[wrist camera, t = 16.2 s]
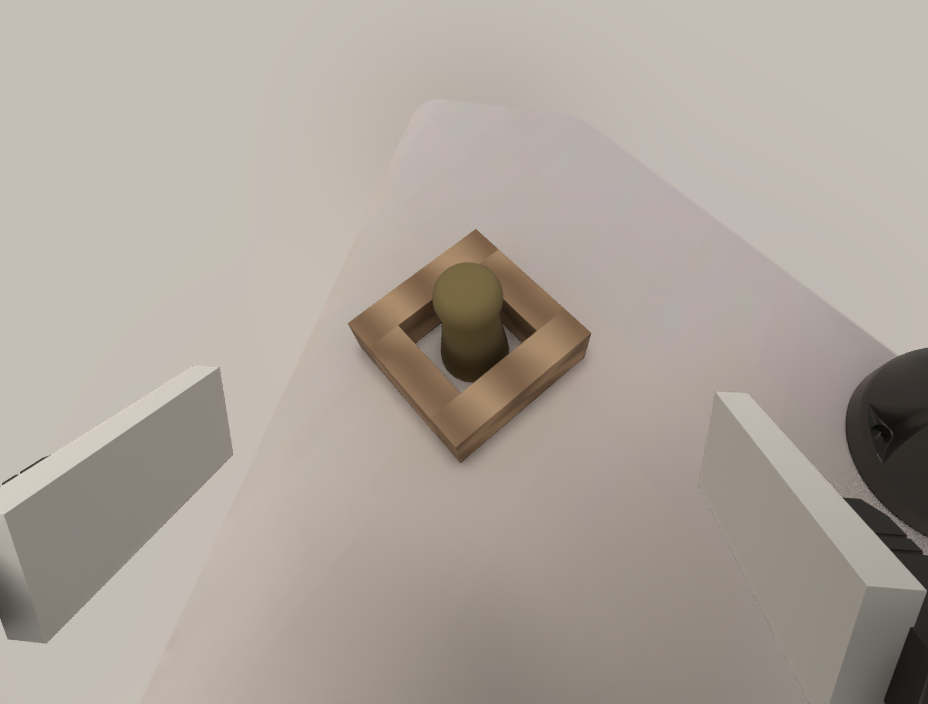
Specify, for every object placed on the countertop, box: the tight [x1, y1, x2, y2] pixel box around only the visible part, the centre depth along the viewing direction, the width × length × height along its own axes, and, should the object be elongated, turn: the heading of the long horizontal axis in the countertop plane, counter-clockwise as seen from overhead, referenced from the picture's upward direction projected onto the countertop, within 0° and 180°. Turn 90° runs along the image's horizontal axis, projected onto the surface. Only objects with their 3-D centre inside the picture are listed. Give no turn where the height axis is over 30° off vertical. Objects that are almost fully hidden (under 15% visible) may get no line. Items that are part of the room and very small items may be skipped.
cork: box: [432, 262, 509, 383], centre depth 43 cm, size 6×6×11 cm
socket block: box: [348, 229, 591, 463], centre depth 46 cm, size 14×14×4 cm
